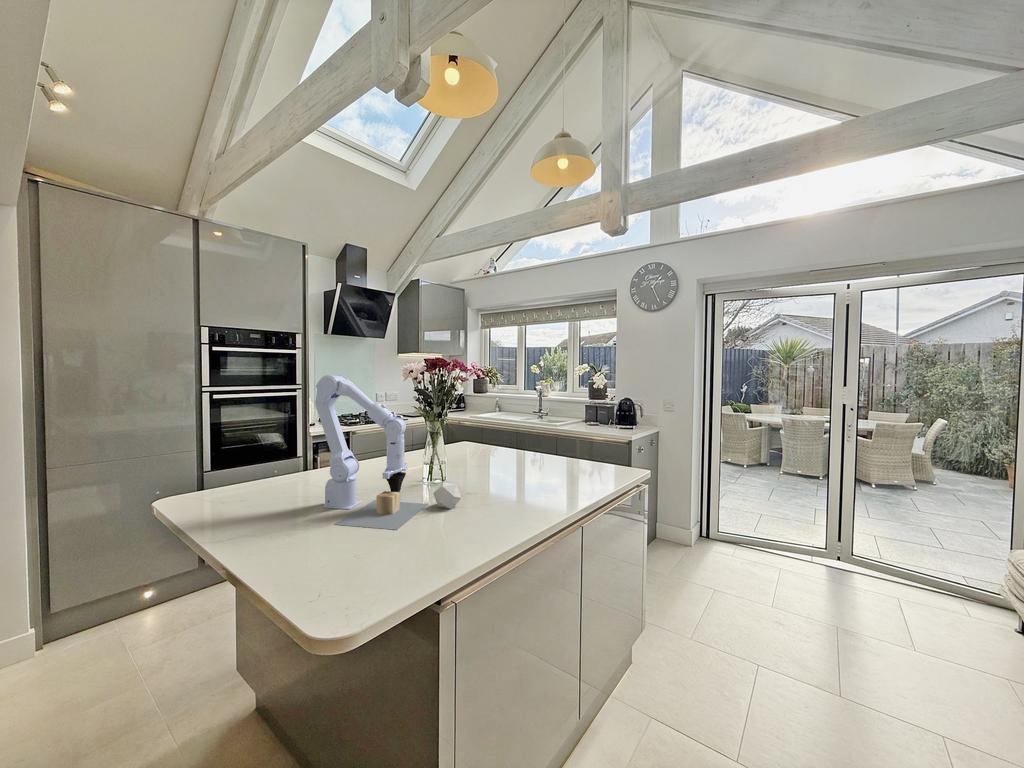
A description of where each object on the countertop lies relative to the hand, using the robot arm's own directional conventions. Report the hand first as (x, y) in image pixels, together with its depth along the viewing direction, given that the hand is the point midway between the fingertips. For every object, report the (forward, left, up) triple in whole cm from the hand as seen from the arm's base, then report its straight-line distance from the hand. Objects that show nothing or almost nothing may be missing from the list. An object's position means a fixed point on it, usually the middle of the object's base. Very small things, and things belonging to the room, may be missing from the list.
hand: (395, 495), depth 142 cm
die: (+17, +3, -4) cm, 18 cm away
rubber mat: (0, -8, -4) cm, 9 cm away
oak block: (0, -2, -1) cm, 2 cm away
